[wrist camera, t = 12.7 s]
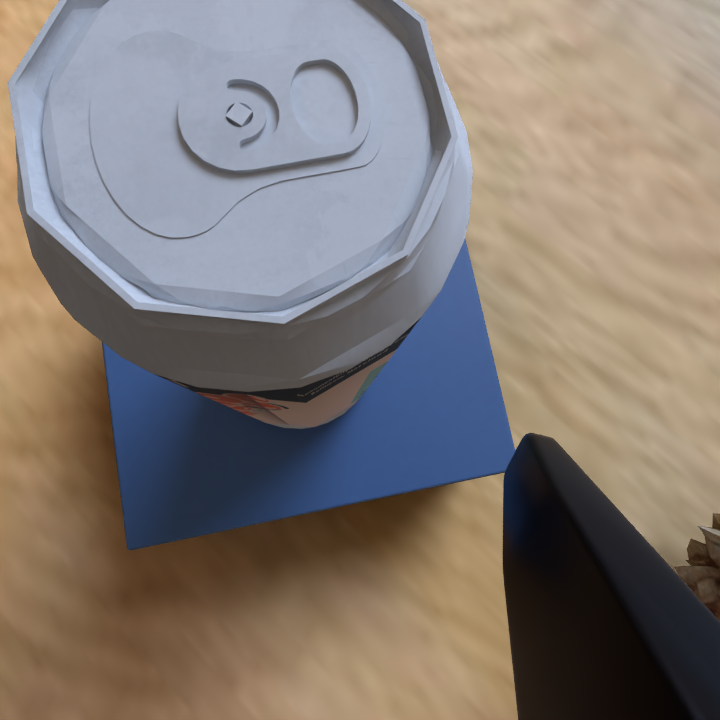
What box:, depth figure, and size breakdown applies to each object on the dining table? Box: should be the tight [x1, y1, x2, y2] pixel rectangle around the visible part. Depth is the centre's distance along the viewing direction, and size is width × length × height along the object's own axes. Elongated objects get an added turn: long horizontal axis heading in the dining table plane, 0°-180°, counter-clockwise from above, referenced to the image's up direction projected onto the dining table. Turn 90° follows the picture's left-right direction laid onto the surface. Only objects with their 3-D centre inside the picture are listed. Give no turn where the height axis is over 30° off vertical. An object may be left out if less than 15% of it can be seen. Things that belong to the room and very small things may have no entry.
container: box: [102, 239, 515, 550], centre depth 19 cm, size 10×12×5 cm
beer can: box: [8, 0, 472, 429], centre depth 11 cm, size 5×5×12 cm
